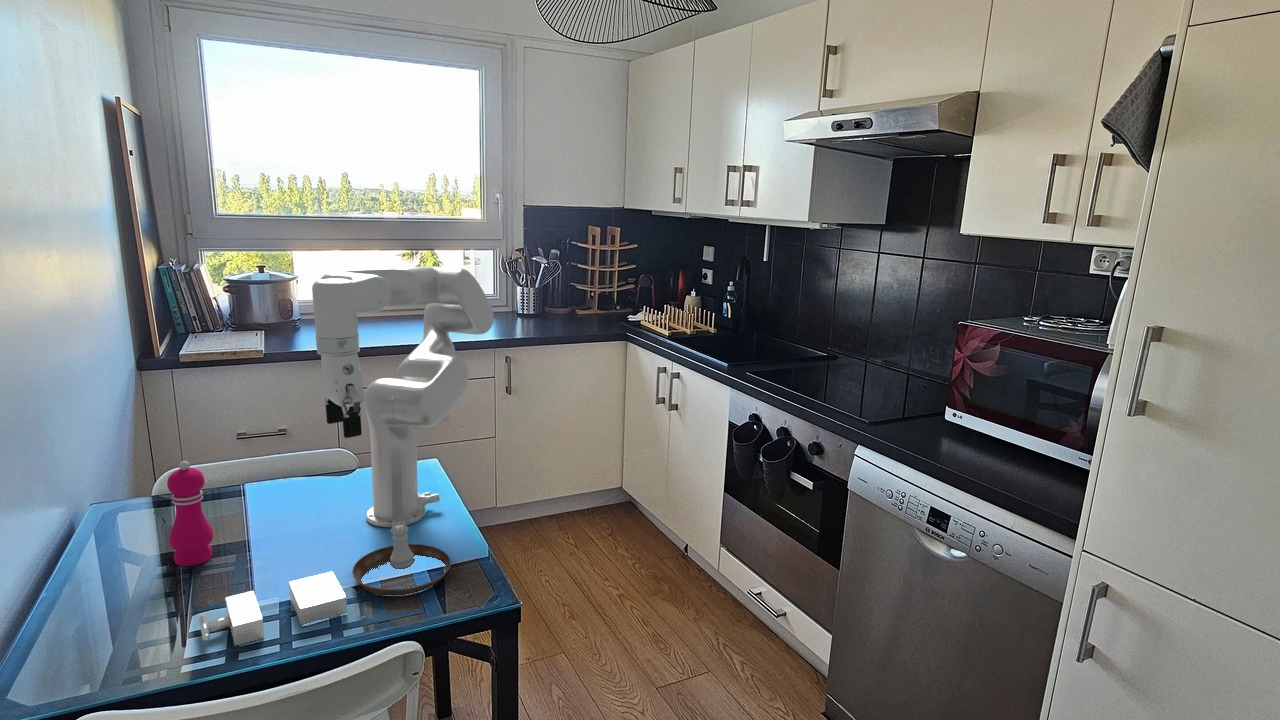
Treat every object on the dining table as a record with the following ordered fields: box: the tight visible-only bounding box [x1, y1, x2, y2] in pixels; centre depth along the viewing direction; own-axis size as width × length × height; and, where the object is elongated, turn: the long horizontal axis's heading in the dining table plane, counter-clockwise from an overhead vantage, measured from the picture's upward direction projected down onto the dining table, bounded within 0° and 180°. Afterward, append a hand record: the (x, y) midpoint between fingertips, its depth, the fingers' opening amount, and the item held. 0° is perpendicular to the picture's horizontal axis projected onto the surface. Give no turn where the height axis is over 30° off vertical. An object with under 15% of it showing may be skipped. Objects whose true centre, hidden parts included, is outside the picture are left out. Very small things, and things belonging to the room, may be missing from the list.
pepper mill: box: [166, 460, 214, 567], centre depth 139 cm, size 7×7×20 cm
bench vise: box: [198, 571, 348, 647], centre depth 123 cm, size 21×10×4 cm, turn 125°
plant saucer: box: [351, 543, 452, 595], centre depth 138 cm, size 18×18×3 cm
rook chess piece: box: [390, 522, 415, 569], centre depth 137 cm, size 4×4×8 cm
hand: (344, 429), depth 143 cm, fingers open, 9 cm apart
